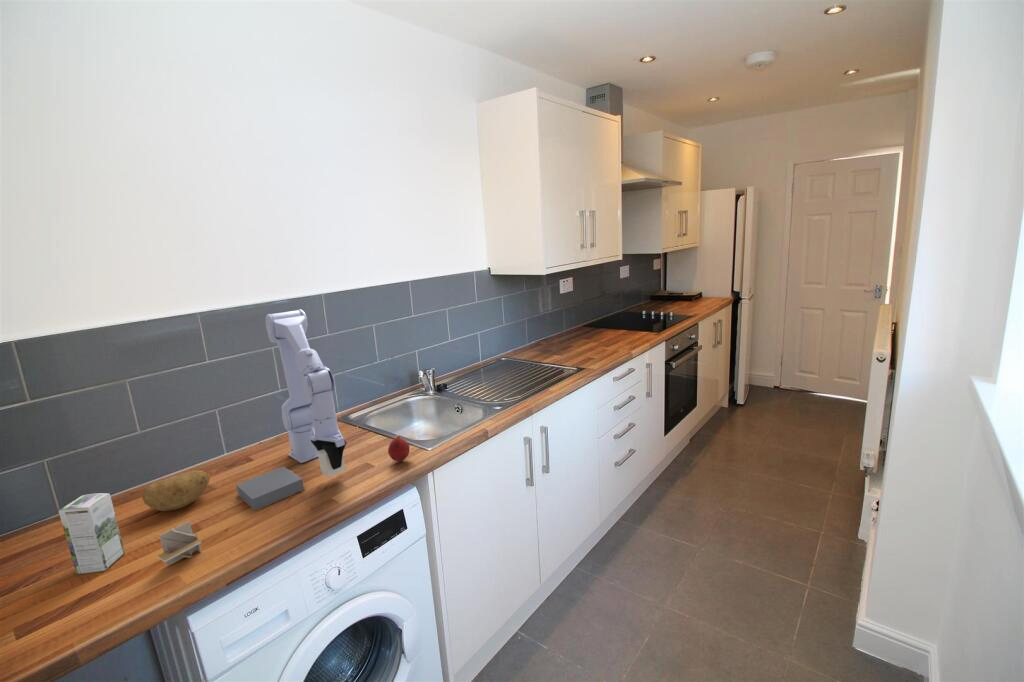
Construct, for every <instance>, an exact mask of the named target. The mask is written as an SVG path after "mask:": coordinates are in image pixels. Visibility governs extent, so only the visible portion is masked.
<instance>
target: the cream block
mask: <svg viewBox="0 0 1024 682" xmlns="http://www.w3.org/2000/svg"><path fill="white" fill-rule="evenodd" d="M318 456H319V457H318V461H319V465H320V473H322V474H323V475H325V476H326V477H328V478H332V477H333V476H335V475H337V474H340V473H342V472H345V471H346V465H345V464H346V463H345V458H344V454H343V455H342V464H341V467H340V468H337V469H335V470H334V469H332V467H331V464H330V461H329V458H328V455H327V453H326V452H325V450H324V449H322V450H320V451H318Z"/></svg>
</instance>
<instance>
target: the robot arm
mask: <svg viewBox="0 0 1024 682" xmlns="http://www.w3.org/2000/svg"><path fill="white" fill-rule="evenodd" d="M264 322H265V327H266V328H265V329H266V332H267V336H268V337H267V338H268V340H269V341H270V343H273V344H276V345H277V348H278V349H279V350H278V351H279V352H280V353H279V355H280V357H281V363H282V368H283V373H284V378H285V382H286V387H287V391H288V395H289V397H288V398H287V399H286V400H285V402H284V403H282V405H281V410H280V411H281V418H282V423H283V426H284V428H285V430H286V431H288V440H289V444H290V445H289V446H290V452H289V453H288V456H289V457H290V458H292V459H294V460H295V461H296V462H299V463H300V464H302V463H307V462H308V461H311V460H314V459H316V458H319V456H318V451H320V450H322V449H324V450H325V452H326V453H327V455H328V458H329V461H330V464H331V467H332V469H334V470H335V469H337V468H340V467H341V464H342V455H343V456H344V451H345V447H346V446H347V440H345V438H344V437H343V436H342V433H341V431H340V429H339V425H338V420H337V419H338V418H337V412H336V408H335V407H336V406H335V401H334V395H333V391H334V390H335V379H334V375H333V374H332V371H331V370H330V368H328V366H326V365H324V363H323V362H322V360H321V358H320V356H319V353H318V352H317V351H316V350H315V349H313V348H310V344H309V341H308V339H307V336H306V333H307V330H308V327H309V324H308V318H307V314H306V313H305V311H304V310H302V309H300V308H299V309H297V310H291V311H284V312H283V311H282V312H277V313H271V314H270V313H267V314H266V316H265V321H264Z"/></svg>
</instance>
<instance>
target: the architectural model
mask: <svg viewBox="0 0 1024 682" xmlns="http://www.w3.org/2000/svg"><path fill="white" fill-rule="evenodd" d="M159 539H160V543H161V547H162V548H161V549H162V551H163V552H162V553H160V554H158V555H157V559H159V560H161V561H162V562H164V563H166V566H167V567H169V566H172V565H173V564H175V563H176V562H179V561H180V560H182V559H184V558H188V559H191V557H192V558H193V557H194V556H193V553H196V552H198V551H199V553H200V552H201V553H203V551H202V548H201V544H202V540H199V537H198V534H197V532H195V533H193V529H192V525H191V521H190V520H188V521H186V522H184V523H182V524H180V525H178V526H176V527H174V528H171V529H170V530H168V531H167V530H166V531H165V532H164V533H161V534H159ZM189 554H190V555H189Z"/></svg>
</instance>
